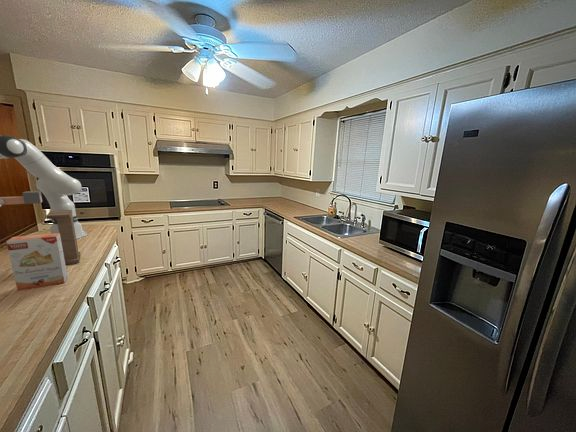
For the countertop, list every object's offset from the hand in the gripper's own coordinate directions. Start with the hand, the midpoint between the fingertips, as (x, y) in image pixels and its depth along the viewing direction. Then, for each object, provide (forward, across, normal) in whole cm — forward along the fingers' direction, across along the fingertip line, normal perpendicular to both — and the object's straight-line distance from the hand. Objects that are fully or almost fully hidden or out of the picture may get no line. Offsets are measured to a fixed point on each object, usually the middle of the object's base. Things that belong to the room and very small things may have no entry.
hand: (4, 199), depth 105 cm
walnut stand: (-2, 0, +36) cm, 36 cm away
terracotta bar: (+3, 0, +4) cm, 5 cm away
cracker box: (-6, -25, +34) cm, 43 cm away
